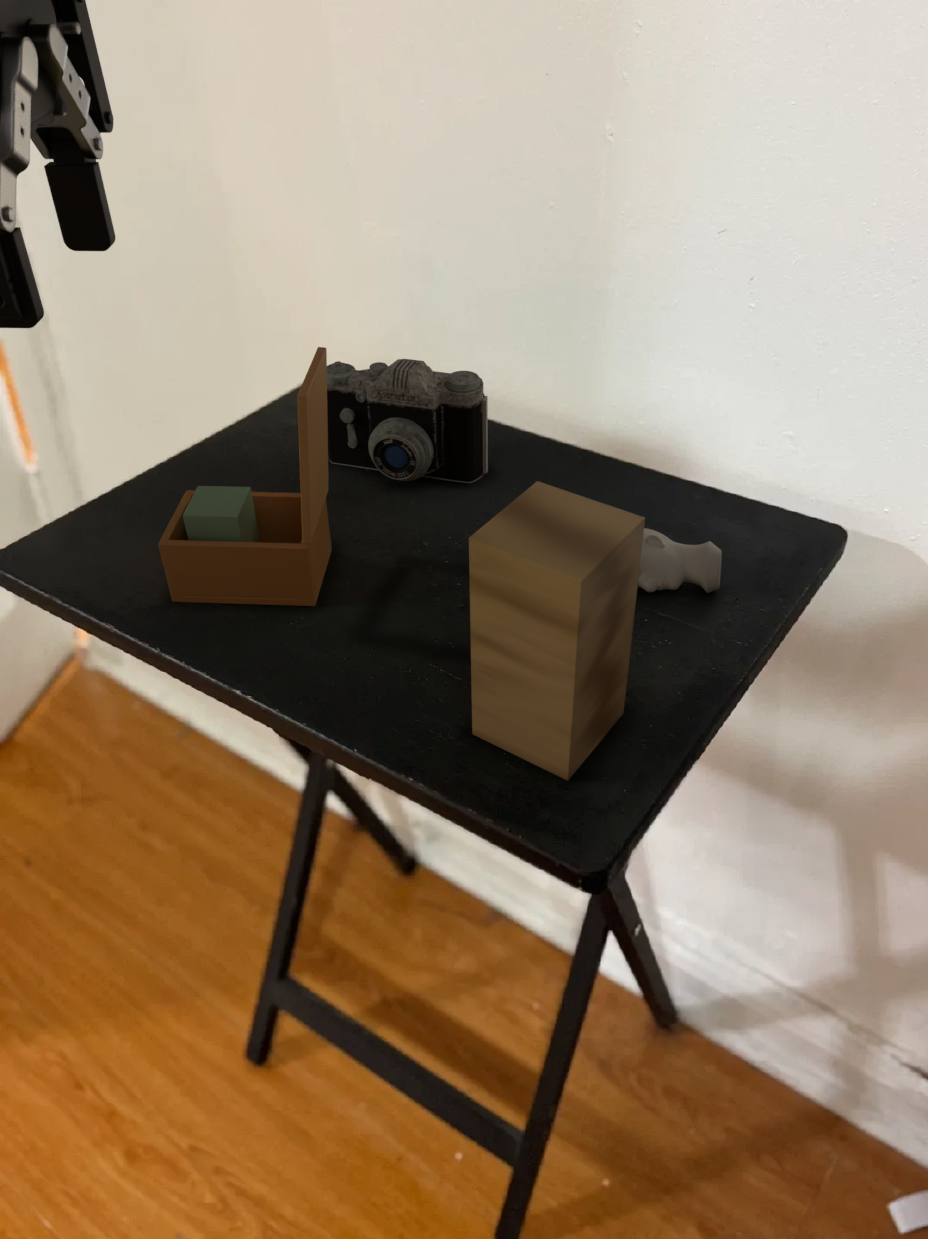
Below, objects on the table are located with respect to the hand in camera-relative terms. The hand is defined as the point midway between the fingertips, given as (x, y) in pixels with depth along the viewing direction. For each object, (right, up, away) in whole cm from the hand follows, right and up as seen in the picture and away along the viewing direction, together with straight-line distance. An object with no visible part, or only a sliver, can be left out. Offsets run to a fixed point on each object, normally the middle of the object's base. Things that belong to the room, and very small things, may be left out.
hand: (57, 284), depth 44 cm
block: (0, -11, +34) cm, 35 cm away
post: (+23, -21, +21) cm, 38 cm away
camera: (+12, -2, +46) cm, 47 cm away
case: (+2, -11, +34) cm, 36 cm away
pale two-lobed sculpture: (+32, -12, +32) cm, 47 cm away
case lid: (+7, -2, +27) cm, 28 cm away
